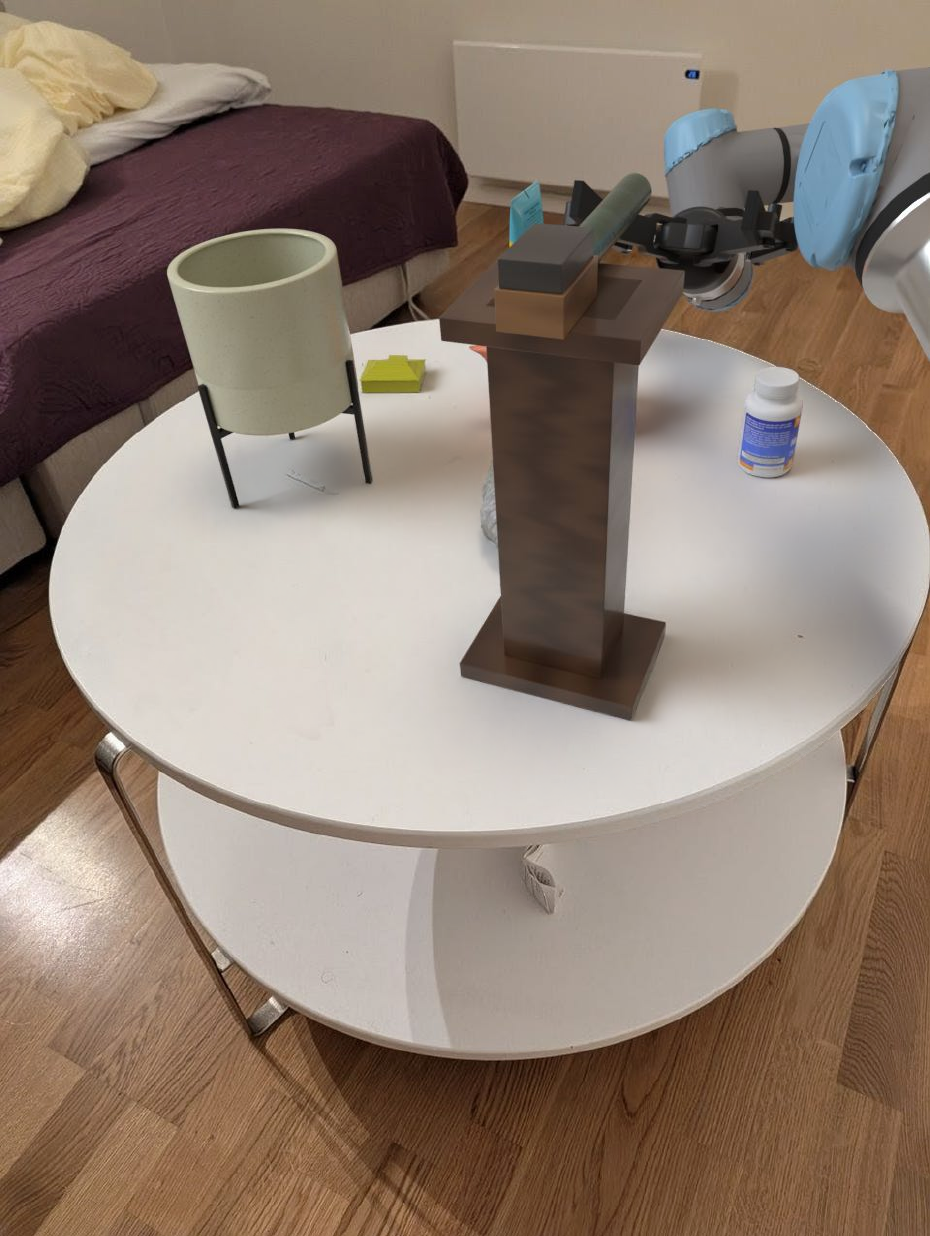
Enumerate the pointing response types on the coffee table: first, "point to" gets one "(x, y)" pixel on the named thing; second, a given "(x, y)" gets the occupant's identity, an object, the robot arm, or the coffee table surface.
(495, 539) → the seashell
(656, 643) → the stand
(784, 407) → the pill bottle
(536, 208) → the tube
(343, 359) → the planter
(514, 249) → the brush
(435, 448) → the coffee table surface
